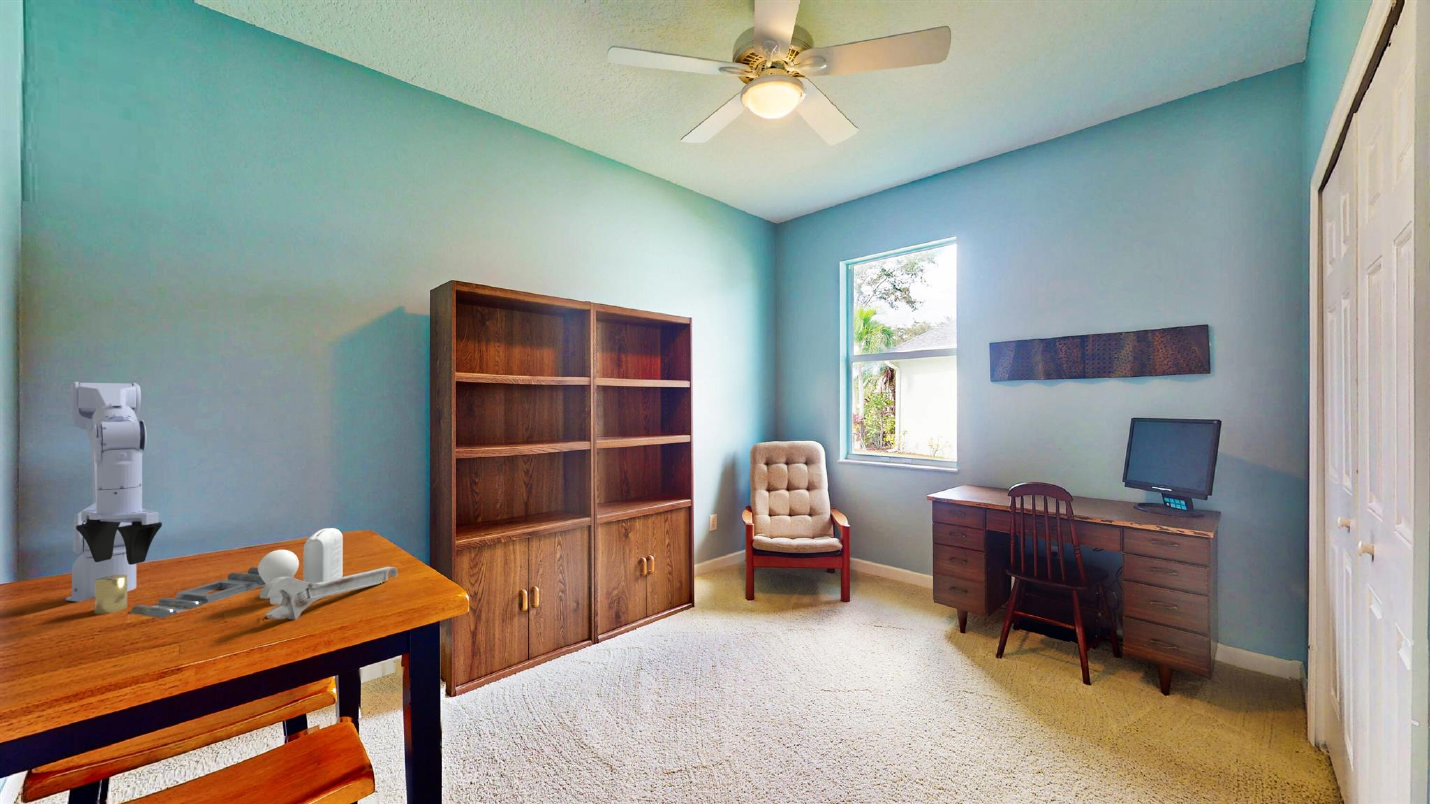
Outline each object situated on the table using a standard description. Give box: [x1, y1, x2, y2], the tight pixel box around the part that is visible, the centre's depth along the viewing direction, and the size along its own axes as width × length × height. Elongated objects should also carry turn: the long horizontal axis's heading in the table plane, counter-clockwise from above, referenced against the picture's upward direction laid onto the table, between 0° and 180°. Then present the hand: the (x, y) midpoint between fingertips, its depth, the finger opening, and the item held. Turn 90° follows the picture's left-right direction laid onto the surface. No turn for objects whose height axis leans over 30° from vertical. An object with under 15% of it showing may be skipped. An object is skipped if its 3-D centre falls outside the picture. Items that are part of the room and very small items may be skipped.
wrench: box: [259, 566, 398, 620], centre depth 111 cm, size 8×2×30 cm
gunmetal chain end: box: [176, 566, 266, 604], centre depth 114 cm, size 8×15×3 cm, turn 166°
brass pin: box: [94, 575, 128, 615], centre depth 102 cm, size 4×4×7 cm
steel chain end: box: [130, 588, 247, 619], centre depth 107 cm, size 8×15×2 cm, turn 166°
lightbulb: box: [257, 549, 300, 606], centre depth 107 cm, size 6×6×11 cm
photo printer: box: [302, 527, 344, 583], centre depth 118 cm, size 10×4×12 cm, turn 13°
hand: (119, 561), depth 103 cm, fingers open, 7 cm apart
